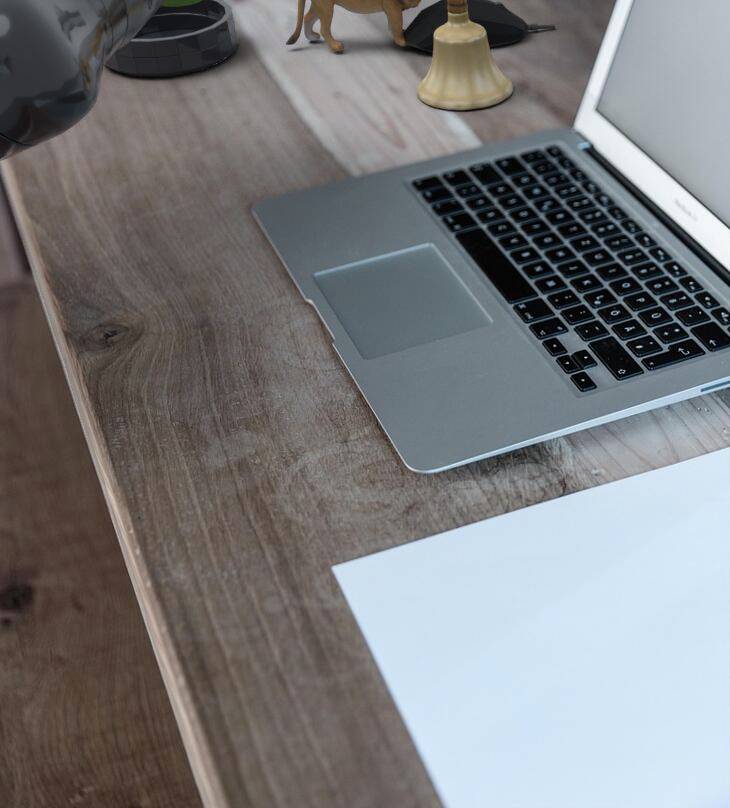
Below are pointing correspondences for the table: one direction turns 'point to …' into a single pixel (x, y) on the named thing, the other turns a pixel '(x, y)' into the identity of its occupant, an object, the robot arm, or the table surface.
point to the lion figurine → (360, 3)
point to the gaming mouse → (480, 11)
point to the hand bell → (462, 66)
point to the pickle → (179, 3)
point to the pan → (179, 41)
